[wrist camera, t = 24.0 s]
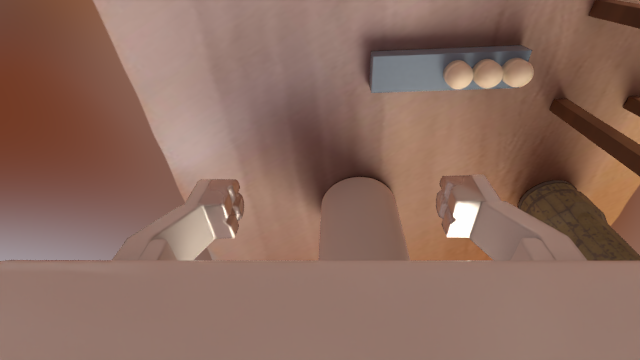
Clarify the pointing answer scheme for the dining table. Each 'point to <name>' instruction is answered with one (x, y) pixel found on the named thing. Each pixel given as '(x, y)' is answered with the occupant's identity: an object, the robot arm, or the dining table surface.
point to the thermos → (576, 221)
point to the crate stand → (605, 135)
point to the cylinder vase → (361, 223)
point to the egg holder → (450, 69)
